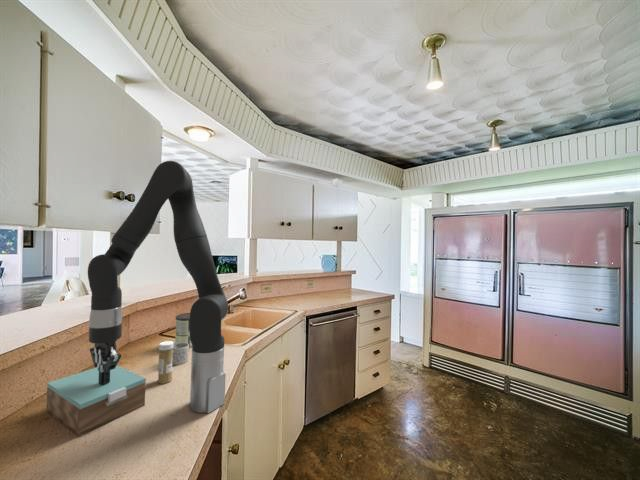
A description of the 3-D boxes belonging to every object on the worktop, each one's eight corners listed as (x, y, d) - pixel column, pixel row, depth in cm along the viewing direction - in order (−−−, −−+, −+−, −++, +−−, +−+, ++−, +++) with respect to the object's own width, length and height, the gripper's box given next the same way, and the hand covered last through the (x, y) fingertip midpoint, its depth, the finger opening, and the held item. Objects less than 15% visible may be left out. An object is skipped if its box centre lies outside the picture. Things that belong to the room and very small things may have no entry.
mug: (179, 357, 119) (180, 341, 119) (191, 360, 117) (192, 344, 117) (159, 366, 110) (159, 349, 110) (171, 369, 108) (172, 352, 108)
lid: (147, 385, 84) (148, 379, 84) (82, 413, 69) (82, 405, 69) (110, 368, 94) (111, 362, 94) (47, 389, 80) (47, 382, 80)
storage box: (146, 406, 84) (147, 383, 84) (80, 438, 70) (81, 410, 70) (110, 387, 94) (111, 366, 94) (46, 411, 80) (47, 387, 80)
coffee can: (180, 341, 138) (181, 312, 138) (201, 341, 139) (202, 312, 139) (170, 348, 128) (171, 318, 128) (193, 349, 128) (194, 318, 128)
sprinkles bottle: (172, 382, 98) (174, 343, 98) (157, 385, 96) (159, 346, 96) (171, 376, 102) (172, 339, 102) (157, 379, 100) (158, 341, 100)
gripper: (132, 323, 81) (130, 384, 81) (109, 316, 87) (107, 372, 87) (102, 330, 74) (100, 396, 74) (79, 322, 80) (77, 383, 80)
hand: (104, 383), depth 80 cm, fingers closed
